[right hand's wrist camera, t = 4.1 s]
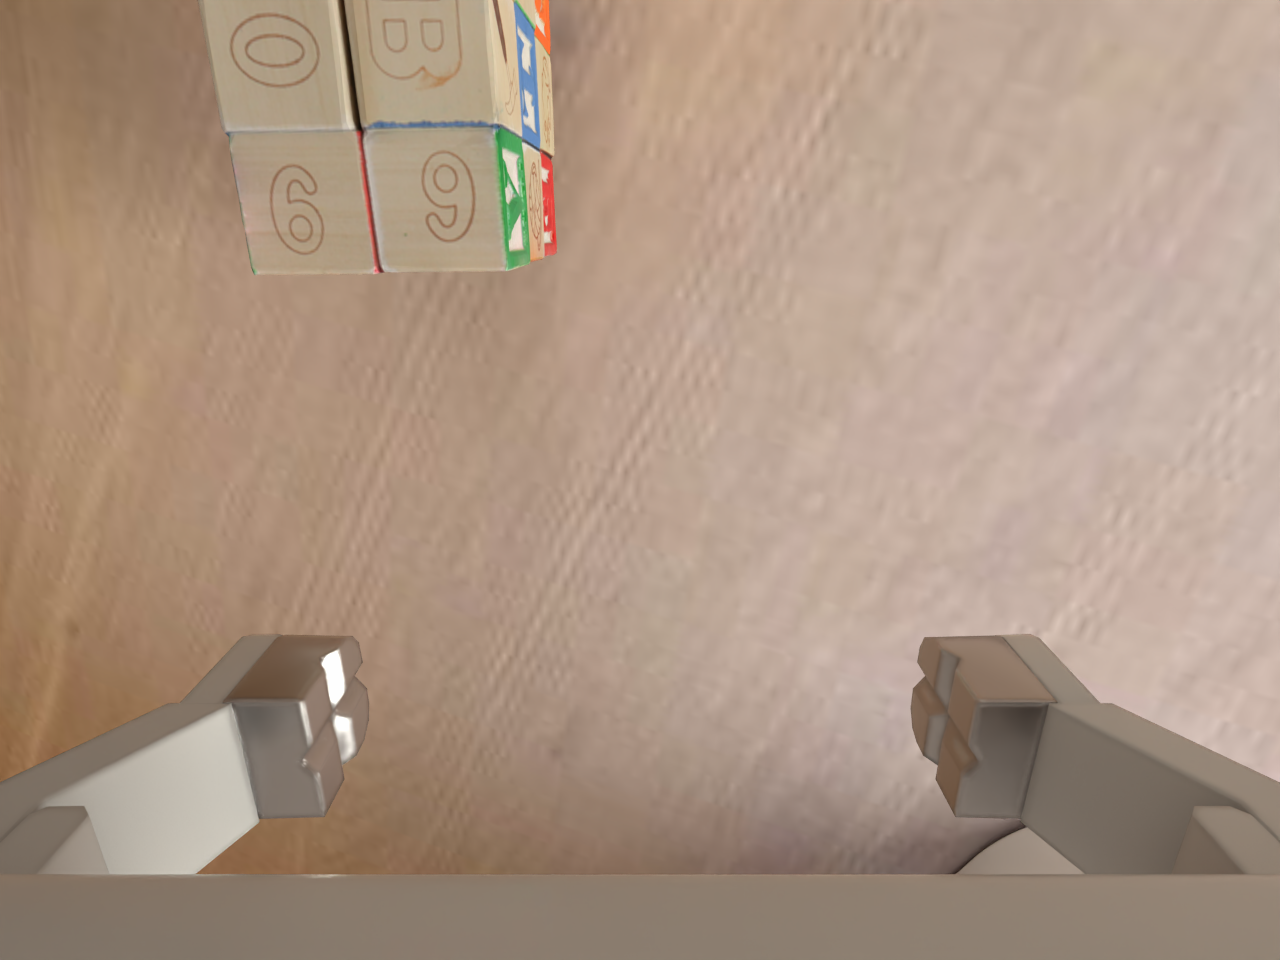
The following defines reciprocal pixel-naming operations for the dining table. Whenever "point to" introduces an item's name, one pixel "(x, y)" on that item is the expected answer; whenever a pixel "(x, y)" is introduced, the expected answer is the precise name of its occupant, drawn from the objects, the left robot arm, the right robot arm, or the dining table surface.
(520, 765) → the dining table surface
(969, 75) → the dining table surface
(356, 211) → the stack of blocks
